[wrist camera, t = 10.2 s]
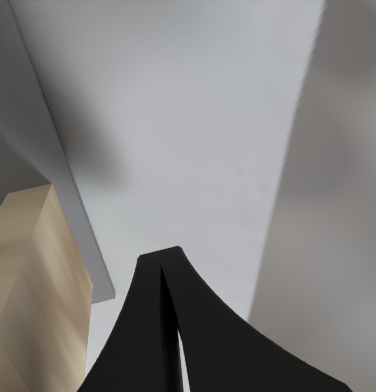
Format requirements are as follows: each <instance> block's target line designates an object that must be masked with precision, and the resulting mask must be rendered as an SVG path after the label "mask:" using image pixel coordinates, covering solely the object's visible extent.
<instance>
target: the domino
mask: <svg viewBox="0 0 376 392" xmlns="http://www.w3.org/2000/svg"><path fill="white" fill-rule="evenodd" d="M92 290H93V284H92V282H91V279H90V277H89V274H88V272H87V269H86V267H85V264H84V262H83V259H82V257H81V254H80V252H79V249H78V247H77V244H76V242H75V239H74V237H73V234H72V232H71V229H70V227H69V224H68V222H67V219H66V217H65V214H64V212H63V209H62V207H61V204H60V202H59V199H58V197H57V194H56V192H55V189H54V187H53V184H52V183H51V184H47V185H43V186H38V187H34V188H30V189H25V190H21V191H17V192H12V193H8V194H7V196H6V198H5V199H4V201H3V203H2V204H1V206H0V392H77V390H78V389H79V387H80V386H81V384H82V383H83V381H84V376H85V365H86V354H87V344H88V333H89V322H90V312H91V301H92Z"/></svg>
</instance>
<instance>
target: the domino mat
mask: <svg viewBox="0 0 376 392" xmlns="http://www.w3.org/2000/svg"><path fill="white" fill-rule="evenodd" d="M51 183H52V184H53V187H54V189H55V192H56V194H57V197H58V199H59V202H60V204H61V207H62V209H63V212H64V214H65V217H66V219H67V222H68V224H69V227H70V229H71V232H72V234H73V237H74V239H75V242H76V244H77V247H78V249H79V252H80V254H81V257H82V259H83V262H84V264H85V267H86V269H87V272H88V274H89V277H90V279H91V282H92V284H93V290H92V301H91V304H94V303H98V302H102V301H106V300H110V299H114V298H115V290H114V287H113V284H112V282H111V279H110V276H109V274H108V271H107V268H106V265H105V263H104V260H103V257H102V254H101V252H100V249H99V246H98V243H97V241H96V238H95V235H94V232H93V230H92V227H91V224H90V221H89V219H88V216H87V213H86V211H85V208H84V205H83V202H82V200H81V197H80V194H79V191H78V189H77V186H76V183H75V180H74V178H73V175H72V172H71V169H70V167H69V164H68V161H67V158H66V156H65V153H64V150H63V148H62V145H61V142H60V139H59V137H58V134H57V131H56V128H55V126H54V123H53V120H52V117H51V115H50V112H49V109H48V106H47V104H46V101H45V98H44V95H43V93H42V90H41V87H40V84H39V82H38V79H37V76H36V74H35V71H34V68H33V65H32V63H31V60H30V57H29V54H28V52H27V49H26V46H25V43H24V41H23V38H22V35H21V32H20V30H19V27H18V24H17V21H16V19H15V16H14V13H13V11H12V8H11V5H10V2H9V0H0V206H1V204H2V203H3V201H4V199H5V198H6V196H7V194H8V193H12V192H17V191H21V190H25V189H30V188H34V187H38V186H43V185H47V184H51Z"/></svg>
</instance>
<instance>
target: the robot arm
mask: <svg viewBox="0 0 376 392" xmlns="http://www.w3.org/2000/svg"><path fill="white" fill-rule="evenodd" d="M177 327H178V328H177ZM178 331H179V334H180V337H181V340H182V344H183V350H184V356H185V362H186V368H187V374H188V380H189V386H190V392H352V390H351V389H350V388H349V387H348V386H347V385H346V384H345V383H343V382H341V381H339V380H337V379H335V378H333V377H331V376H329V375H327V374H325V373H323V372H322V371H320V370H318V369H316V368H314V367H312V366H311V365H309V364H307V363H306V362H304V361H302V360H300V359H299V358H297V357H296V356H294V355H292V354H291V353H289V352H287V351H286V350H284V349H283V348H282V347H280V346H279V345H277V344H276V343H274V342H273V341H271V340H270V339H268V338H267V337H265V336H264V335H263V334H261V333H260V332H258V331H257V330H256V329H255V328H253V327H252V326H251V325H249V324H248V323H247V322H246V321H244V320H243V319H242V318H241V317H240V316H239V315H237V314H236V313H235V312H234V311H233V310H232V309H231V308H230V307H229V306H227V305H226V304H225V303H224V302H223V301H222V300H221V299H220V298H219V297H218V296H217V295H216V294H215V293H214V291H213V290H212V289H211V288H210V287H209V286H208V285H207V284H206V282H205V281H204V280H203V279H202V278H201V277H200V275H199V274H198V273H197V272H196V270H195V269H194V268H193V266H192V265H191V263H190V262H189V260H188V259H187V257H186V256H185V254H184V252H183V249H182V248H181V247H179V246H175V247H171V248H167V249H163V250H159V251H155V252H151V253H147V254H143V255H140V256H139V257H138V259H137V264H136V268H135V272H134V276H133V279H132V282H131V285H130V288H129V291H128V294H127V297H126V299H125V302H124V305H123V307H122V310H121V312H120V314H119V316H118V319H117V321H116V323H115V326H114V328H113V330H112V332H111V334H110V336H109V338H108V340H107V342H106V344H105V346H104V348H103V349H102V351H101V353H100V355H99V357H98V358H97V360H96V362H95V364H94V365H93V367H92V368H91V370H90V372H89V373H88V375H87V377H86V378H85V380H84V381H83V383H82V384H81V386H80V387H79V389H78V390H77V392H184V391H183V380H182V369H181V359H180V348H179V338H178Z"/></svg>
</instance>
